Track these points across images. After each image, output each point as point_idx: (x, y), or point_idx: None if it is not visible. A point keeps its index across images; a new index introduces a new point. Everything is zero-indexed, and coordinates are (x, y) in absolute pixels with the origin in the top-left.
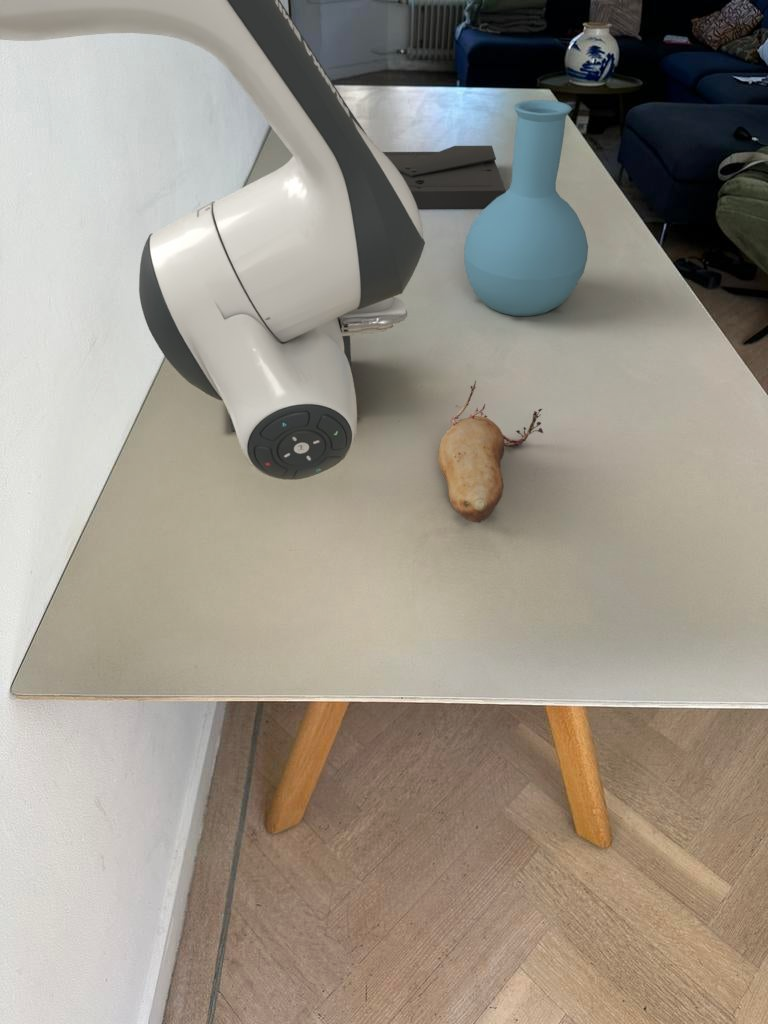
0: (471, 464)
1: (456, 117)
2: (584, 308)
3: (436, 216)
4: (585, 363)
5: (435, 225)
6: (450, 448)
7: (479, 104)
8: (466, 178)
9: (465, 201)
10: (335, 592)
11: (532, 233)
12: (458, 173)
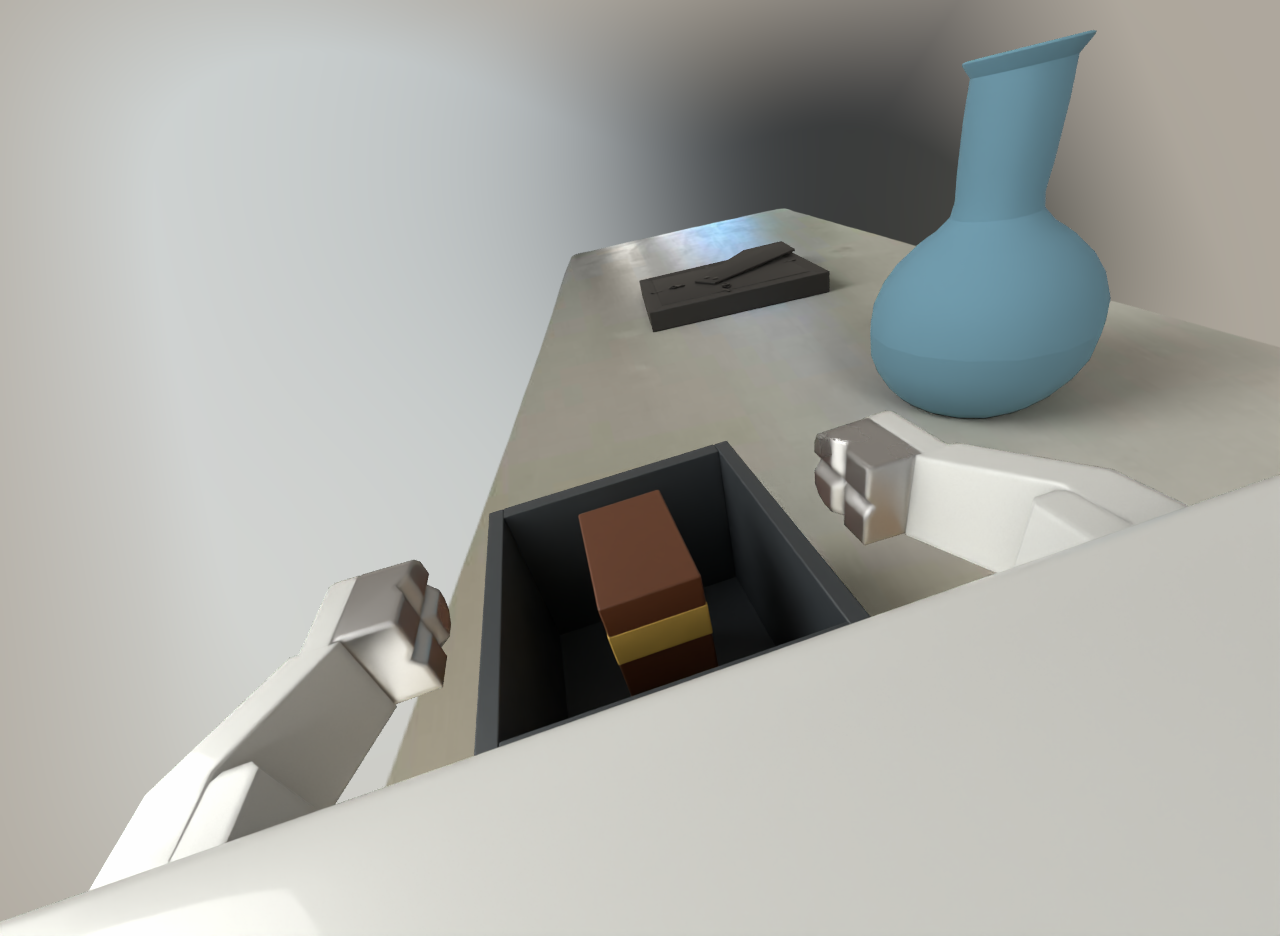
0: None
1: (721, 239)
2: (1080, 382)
3: (758, 316)
4: (1235, 488)
5: (764, 325)
6: None
7: (735, 227)
8: (775, 272)
9: (785, 294)
10: None
11: (1040, 275)
12: (763, 270)
